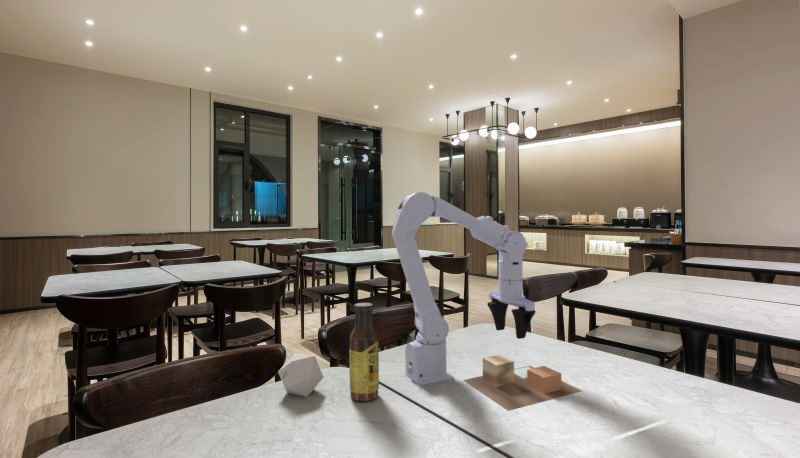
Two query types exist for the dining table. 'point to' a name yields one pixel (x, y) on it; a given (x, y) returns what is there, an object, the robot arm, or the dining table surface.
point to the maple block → (498, 370)
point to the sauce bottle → (364, 355)
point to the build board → (518, 391)
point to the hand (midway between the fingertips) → (510, 333)
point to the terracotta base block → (544, 379)
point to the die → (300, 374)
